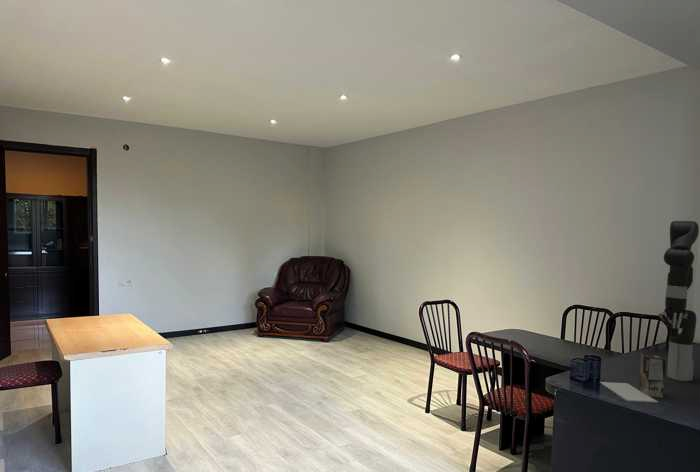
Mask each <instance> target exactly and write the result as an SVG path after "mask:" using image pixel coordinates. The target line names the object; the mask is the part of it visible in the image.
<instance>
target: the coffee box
mask: <svg viewBox="0 0 700 472" xmlns="http://www.w3.org/2000/svg"><path fill="white" fill-rule="evenodd" d="M640 355H641V356H640V368H639V369H640V372H639V386H638V387H639V389H638V390H639V391H641V392H643V393H644V394H646V395H648V396H649V397H651V398H652V397H654V398H659V399H660V398H662V399H663V398H664V392H665V391H664V389H665V374H666V362H667V360H666V359H665V358H663V357H662V356H659V355H657V354H654V353H653V354H652V353H641V354H640Z"/></svg>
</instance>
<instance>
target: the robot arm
mask: <svg viewBox="0 0 700 472" xmlns="http://www.w3.org/2000/svg"><path fill="white" fill-rule="evenodd" d="M669 225H670V226H669V243H670V244H669V246H670V247H669V248H668V249H667V250H665V252H664V254H663V262H664V263H665V264H666V265H668V266H669V272H668V273H667V280H666V289H665V299H664V300H665V301H664V303H665V304H664V305H665V309H664V310H663V313H659V314H658V317H659V318H660V320H661V321H662V323H663V324H664V326H667V327H668V328H669V332H668V333H669V341H668V354H667V355H668V357H667V359H668V360H667V371H666V377H667V378H669V379H672V380H675V381H680V382H691V381H693V377H694V363H695V362H694V360H693V345H694V344H693V343H694V339H695V334H696V326H697V314H696V312H695V311H693V310H690V309H689V310H688V309H687V305H688V304H687V303H688V290H689V289H690V287H691V286H692V284H693V281H694V280H693V279H694V268H693V263H694V260H695V255H694V253H693V251H692V250H691V249H692V246H693V245H694V243H696V241H697V239H698V237H699V231H700V229H699V223H698V222H697V221H694V220H673V221H671V223H670V224H669ZM680 329H681V332H680V333H679V330H680Z"/></svg>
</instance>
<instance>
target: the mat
mask: <svg viewBox="0 0 700 472" xmlns="http://www.w3.org/2000/svg"><path fill="white" fill-rule="evenodd" d="M599 382H600V383H601V384H602V386H603V385H604V386H603V387H604V388H606V387H607V388H606V389H608V390H609V389H610V391H611V392H612V391H613V392H612V393H613V394H615V393H616V394H615V395H617V396H618V397H620V398H621V399H623V400H624V401H626V402H636V403H637V402H638V403H655V404H656V403H659V401H658V400H656V399H654V398H652V397H651V396H648V395H646V394H644V393H643V392H642V391H641V390H639V389H637V388H636V387H635V386H632V385H631V384H629V383H626V382H611V381H610V382H607V381H599ZM600 383H599V384H600ZM601 384H600V385H601Z"/></svg>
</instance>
